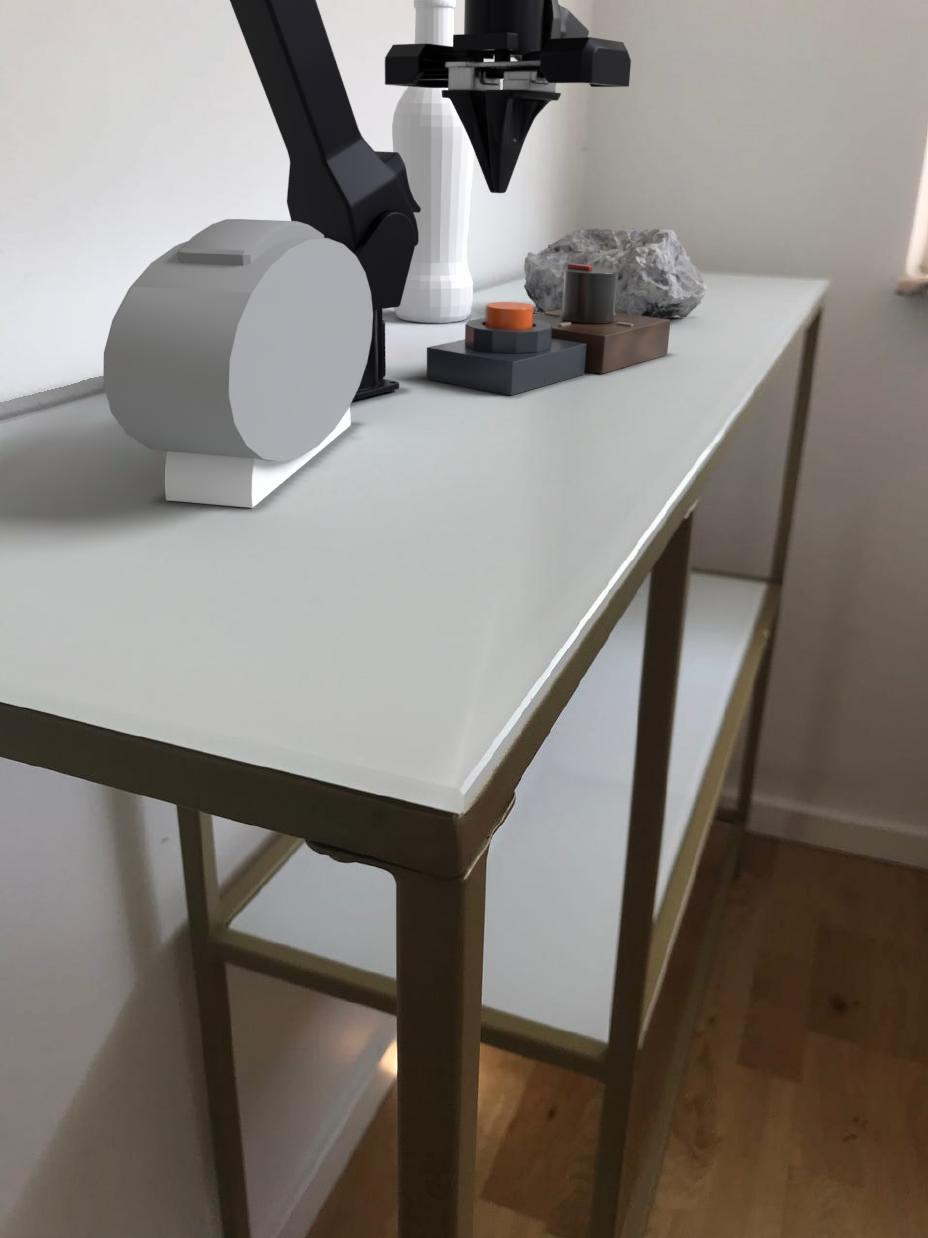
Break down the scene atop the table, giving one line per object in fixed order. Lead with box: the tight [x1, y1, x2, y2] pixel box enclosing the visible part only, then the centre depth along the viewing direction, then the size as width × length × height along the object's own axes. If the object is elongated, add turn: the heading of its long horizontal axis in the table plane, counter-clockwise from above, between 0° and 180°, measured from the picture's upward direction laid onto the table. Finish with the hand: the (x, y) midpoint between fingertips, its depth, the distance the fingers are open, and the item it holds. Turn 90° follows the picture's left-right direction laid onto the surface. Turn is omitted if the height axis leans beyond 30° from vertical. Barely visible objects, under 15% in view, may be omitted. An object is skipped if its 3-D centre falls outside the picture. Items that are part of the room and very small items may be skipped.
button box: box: [426, 317, 586, 396], centre depth 79 cm, size 10×8×4 cm
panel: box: [533, 309, 671, 375], centre depth 88 cm, size 11×10×3 cm
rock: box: [523, 227, 708, 319], centre depth 106 cm, size 18×15×10 cm
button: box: [485, 301, 534, 329], centre depth 78 cm, size 4×4×2 cm
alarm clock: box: [102, 218, 373, 509], centre depth 56 cm, size 23×6×13 cm, turn 169°
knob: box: [562, 264, 618, 324], centre depth 86 cm, size 4×4×4 cm
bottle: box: [391, 0, 475, 324], centre depth 98 cm, size 8×8×30 cm
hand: (498, 192), depth 79 cm, fingers closed
